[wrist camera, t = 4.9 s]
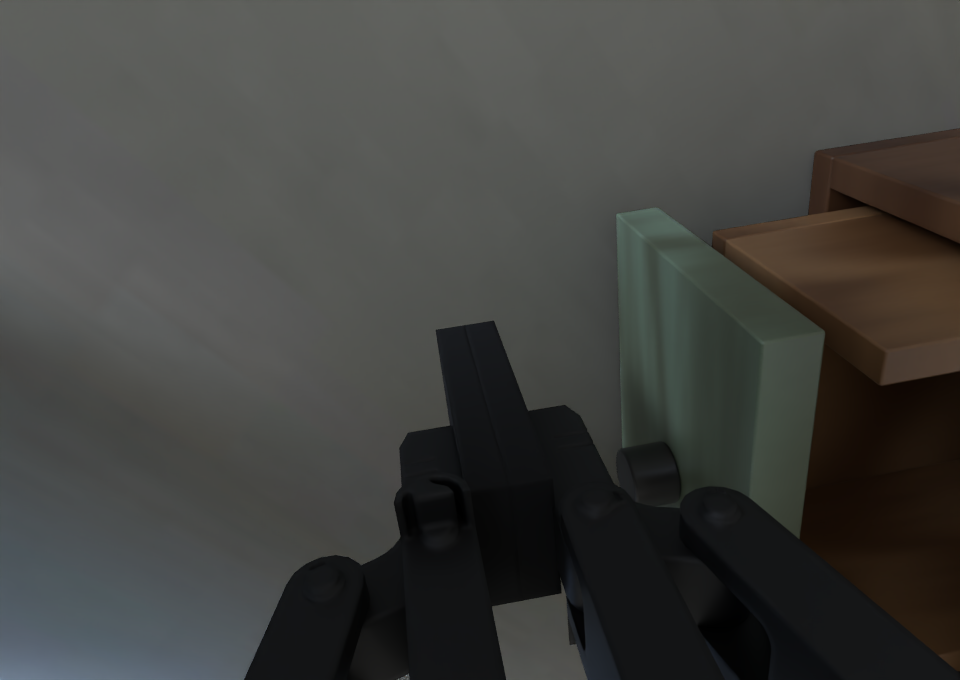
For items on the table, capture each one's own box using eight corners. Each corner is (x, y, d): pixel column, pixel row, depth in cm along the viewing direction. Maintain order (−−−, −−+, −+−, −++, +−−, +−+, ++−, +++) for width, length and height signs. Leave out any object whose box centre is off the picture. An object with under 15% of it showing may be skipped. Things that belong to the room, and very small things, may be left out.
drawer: (590, 541, 24) (682, 764, 17) (572, 220, 19) (695, 354, 12) (985, 463, 26) (1220, 641, 19) (1073, 139, 20) (1448, 219, 13)
